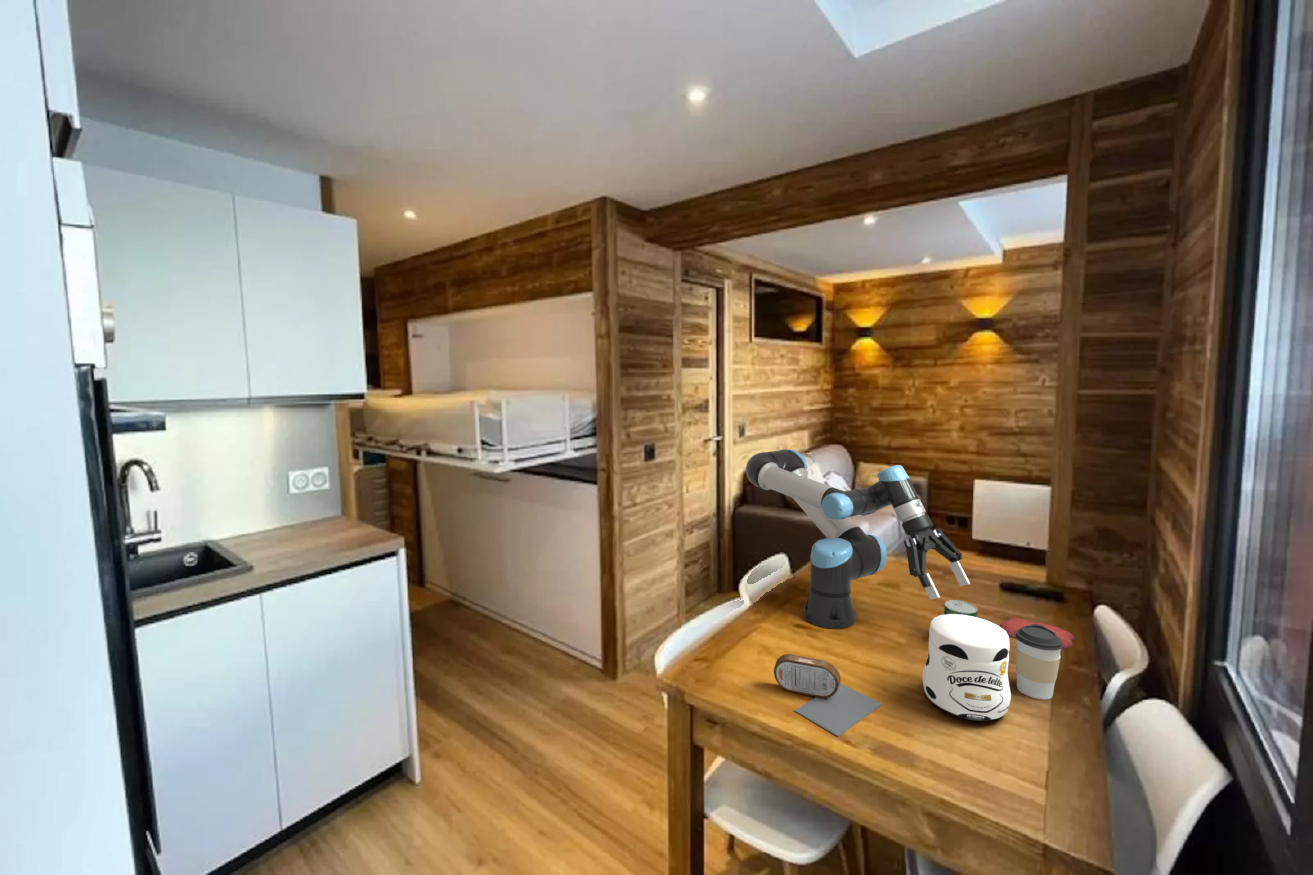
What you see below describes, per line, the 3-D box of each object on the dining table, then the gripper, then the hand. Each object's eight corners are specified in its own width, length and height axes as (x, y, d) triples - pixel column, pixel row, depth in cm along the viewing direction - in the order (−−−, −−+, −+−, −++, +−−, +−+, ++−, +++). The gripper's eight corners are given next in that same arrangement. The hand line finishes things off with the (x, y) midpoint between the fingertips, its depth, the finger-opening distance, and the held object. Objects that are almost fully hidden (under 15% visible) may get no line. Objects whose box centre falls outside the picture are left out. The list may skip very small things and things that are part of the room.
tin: (840, 696, 129) (840, 661, 128) (839, 703, 126) (839, 667, 125) (775, 683, 135) (775, 649, 134) (772, 689, 133) (772, 655, 132)
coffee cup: (1059, 707, 125) (1065, 643, 123) (1011, 694, 129) (1016, 633, 127) (1056, 687, 132) (1061, 627, 130) (1011, 676, 137) (1015, 618, 135)
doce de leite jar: (972, 738, 115) (977, 655, 112) (904, 693, 130) (908, 620, 128) (1027, 716, 122) (1033, 638, 119) (957, 676, 137) (961, 606, 135)
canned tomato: (979, 653, 148) (982, 613, 147) (947, 650, 150) (949, 611, 148) (969, 638, 156) (971, 601, 154) (938, 636, 157) (940, 599, 156)
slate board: (794, 711, 124) (794, 710, 124) (839, 683, 135) (839, 682, 135) (837, 736, 116) (837, 735, 116) (881, 705, 126) (882, 703, 126)
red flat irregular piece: (997, 636, 158) (997, 629, 158) (1002, 618, 169) (1003, 611, 169) (1073, 654, 148) (1074, 647, 147) (1074, 634, 159) (1075, 627, 158)
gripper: (895, 523, 149) (933, 601, 142) (950, 505, 161) (988, 576, 154) (874, 531, 155) (910, 607, 148) (930, 513, 167) (965, 582, 160)
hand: (950, 591), depth 151 cm, fingers open, 13 cm apart
